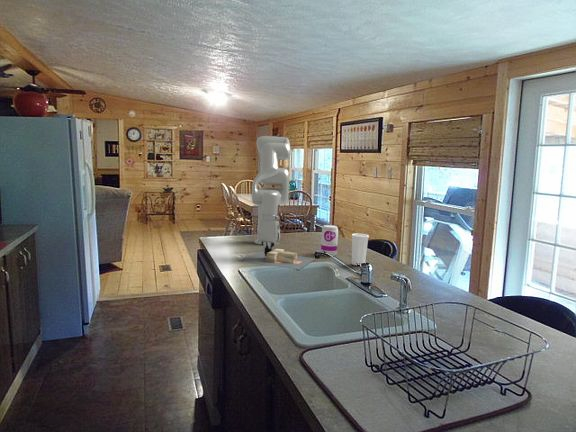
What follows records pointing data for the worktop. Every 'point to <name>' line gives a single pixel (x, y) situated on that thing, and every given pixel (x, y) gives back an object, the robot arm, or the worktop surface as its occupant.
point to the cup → (359, 248)
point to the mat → (261, 259)
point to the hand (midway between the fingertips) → (267, 255)
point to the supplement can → (329, 239)
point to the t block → (281, 256)
